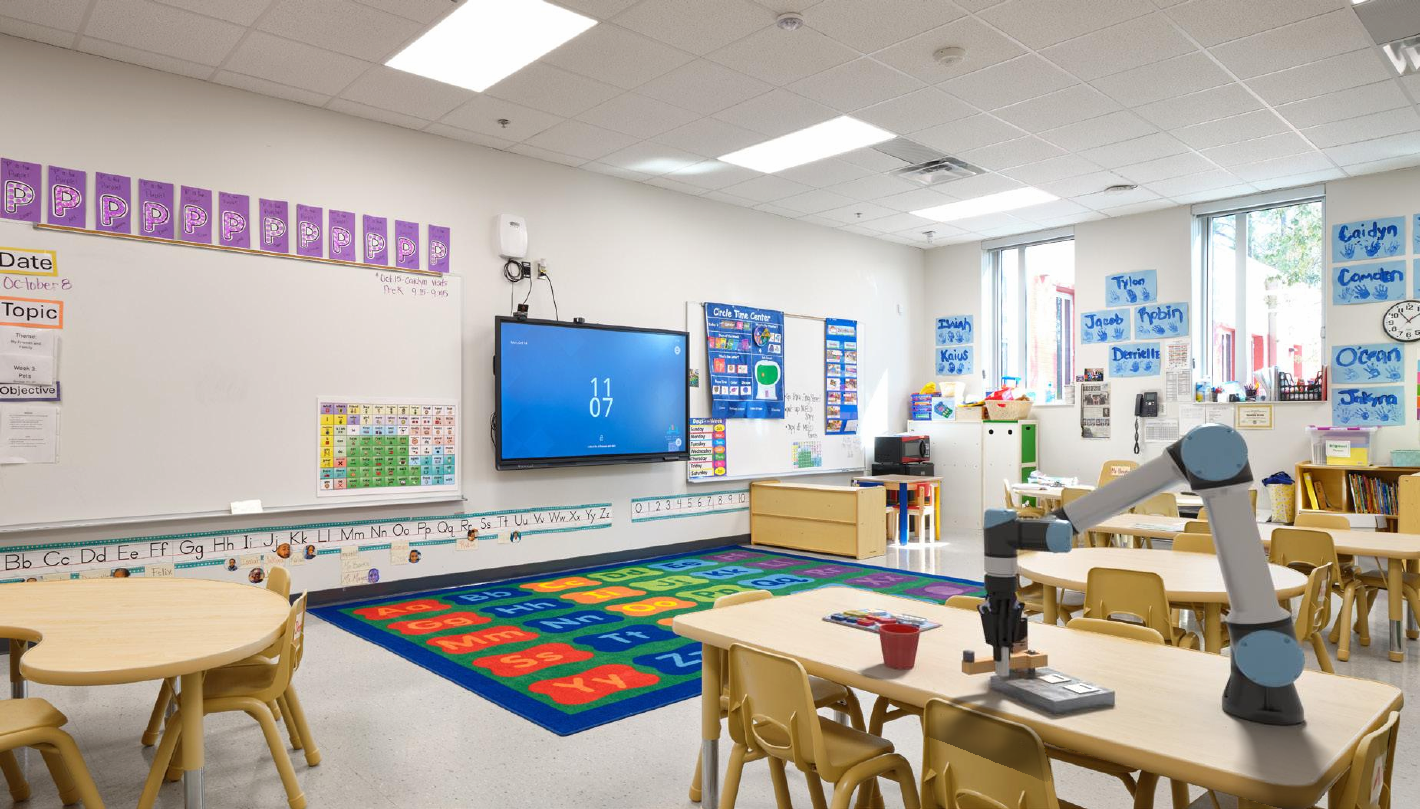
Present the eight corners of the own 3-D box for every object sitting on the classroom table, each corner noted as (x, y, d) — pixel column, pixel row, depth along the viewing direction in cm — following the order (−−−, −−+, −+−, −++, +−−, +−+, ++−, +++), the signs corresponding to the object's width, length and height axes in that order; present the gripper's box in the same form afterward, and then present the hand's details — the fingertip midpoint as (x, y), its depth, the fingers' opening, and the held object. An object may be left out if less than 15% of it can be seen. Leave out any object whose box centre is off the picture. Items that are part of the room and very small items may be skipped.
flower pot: (928, 664, 221) (927, 627, 221) (906, 673, 213) (906, 635, 213) (892, 656, 228) (892, 621, 229) (870, 665, 220) (870, 628, 221)
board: (1114, 704, 190) (1114, 668, 190) (1055, 715, 183) (1054, 678, 183) (1046, 679, 208) (1046, 647, 209) (990, 688, 201) (990, 655, 201)
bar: (1031, 660, 209) (1031, 640, 209) (1047, 666, 204) (1047, 645, 204) (957, 670, 200) (957, 649, 200) (971, 676, 195) (971, 655, 195)
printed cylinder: (1014, 679, 209) (1014, 618, 209) (994, 672, 215) (993, 613, 215) (1033, 675, 212) (1033, 615, 212) (1012, 668, 218) (1012, 610, 218)
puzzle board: (943, 628, 264) (943, 619, 264) (898, 640, 249) (898, 631, 249) (866, 611, 287) (866, 603, 287) (821, 621, 272) (821, 613, 272)
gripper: (1010, 569, 205) (1011, 667, 204) (967, 573, 200) (968, 673, 199) (1033, 574, 198) (1035, 675, 197) (990, 578, 193) (991, 682, 192)
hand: (1002, 674), depth 198 cm, fingers closed
